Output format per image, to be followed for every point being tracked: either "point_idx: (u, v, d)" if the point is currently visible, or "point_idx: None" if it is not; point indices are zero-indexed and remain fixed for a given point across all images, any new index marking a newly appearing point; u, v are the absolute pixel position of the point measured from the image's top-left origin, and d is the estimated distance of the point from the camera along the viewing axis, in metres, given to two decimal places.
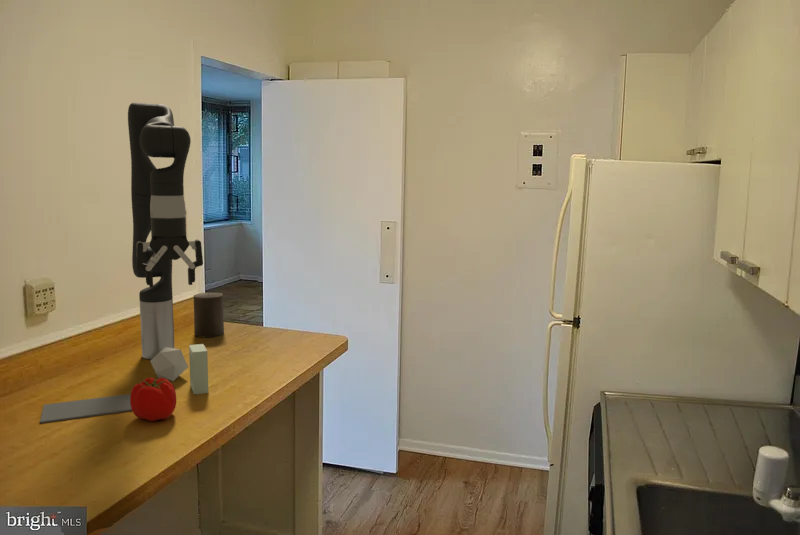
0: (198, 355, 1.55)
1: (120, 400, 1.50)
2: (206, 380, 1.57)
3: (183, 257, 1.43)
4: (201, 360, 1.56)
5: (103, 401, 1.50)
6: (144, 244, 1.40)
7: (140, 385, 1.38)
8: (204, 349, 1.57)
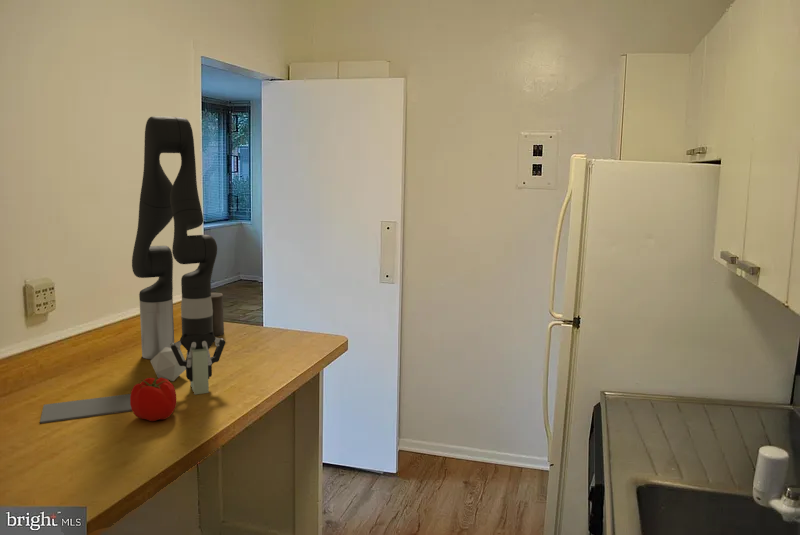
0: (198, 355, 1.55)
1: (120, 400, 1.50)
2: (206, 380, 1.57)
3: None
4: (201, 360, 1.56)
5: (103, 401, 1.50)
6: (176, 344, 1.56)
7: (140, 385, 1.38)
8: (204, 349, 1.57)
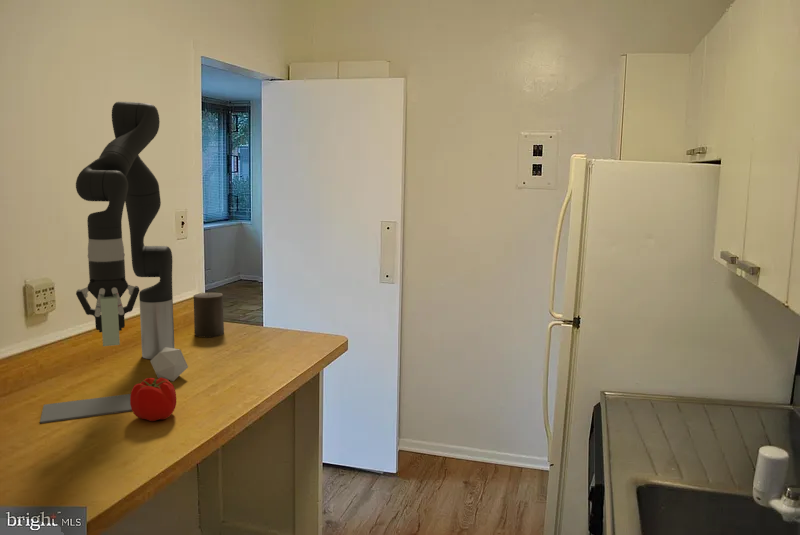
0: (107, 302, 1.41)
1: (120, 400, 1.50)
2: (117, 330, 1.43)
3: None
4: (110, 308, 1.42)
5: (103, 401, 1.50)
6: (83, 291, 1.42)
7: (140, 385, 1.38)
8: None
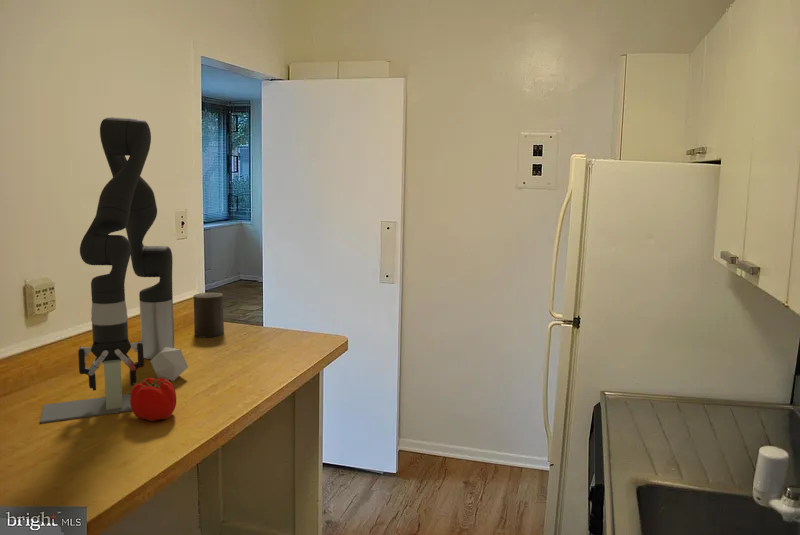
0: (110, 367, 1.44)
1: None
2: (120, 394, 1.45)
3: (124, 360, 1.46)
4: (114, 372, 1.44)
5: (103, 401, 1.50)
6: (85, 349, 1.44)
7: (140, 385, 1.38)
8: (118, 360, 1.46)
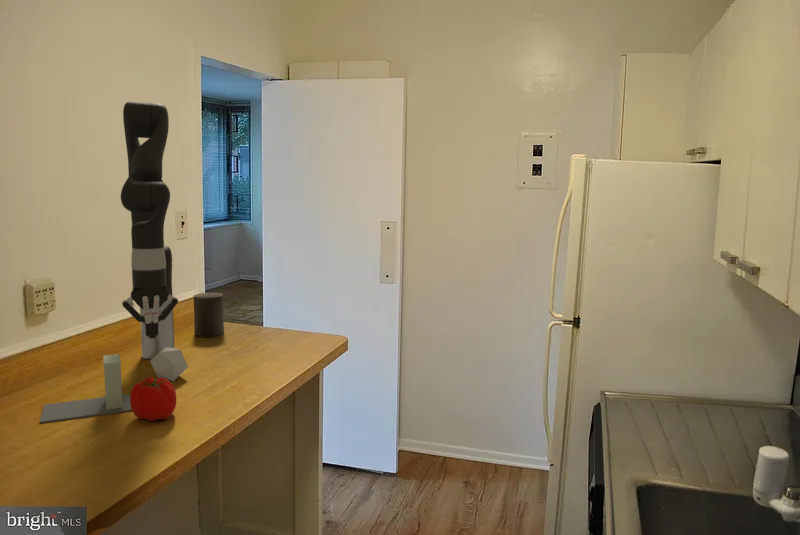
0: (110, 367, 1.44)
1: None
2: (120, 394, 1.45)
3: (155, 308, 1.48)
4: (114, 372, 1.44)
5: (103, 401, 1.50)
6: (128, 301, 1.46)
7: (140, 385, 1.38)
8: (118, 360, 1.46)
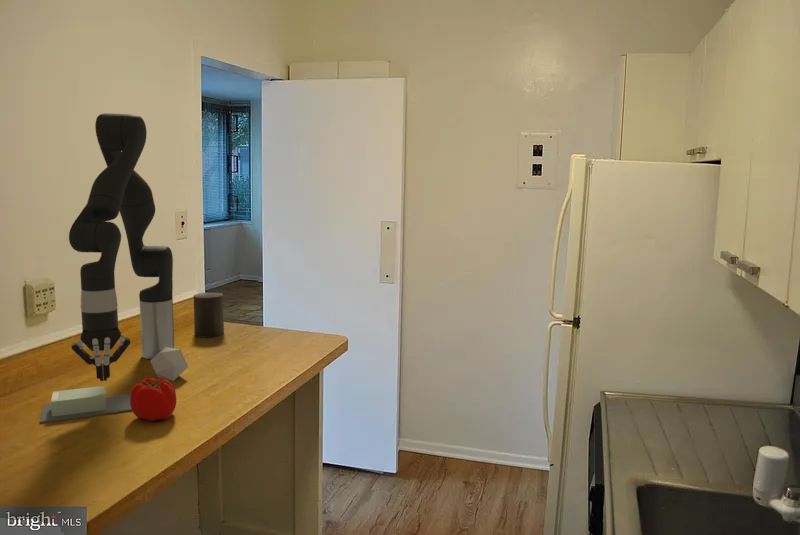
0: (56, 410, 1.40)
1: (120, 400, 1.50)
2: (89, 398, 1.43)
3: (106, 351, 1.44)
4: (63, 406, 1.40)
5: None
6: (77, 343, 1.43)
7: (140, 385, 1.38)
8: (51, 401, 1.41)
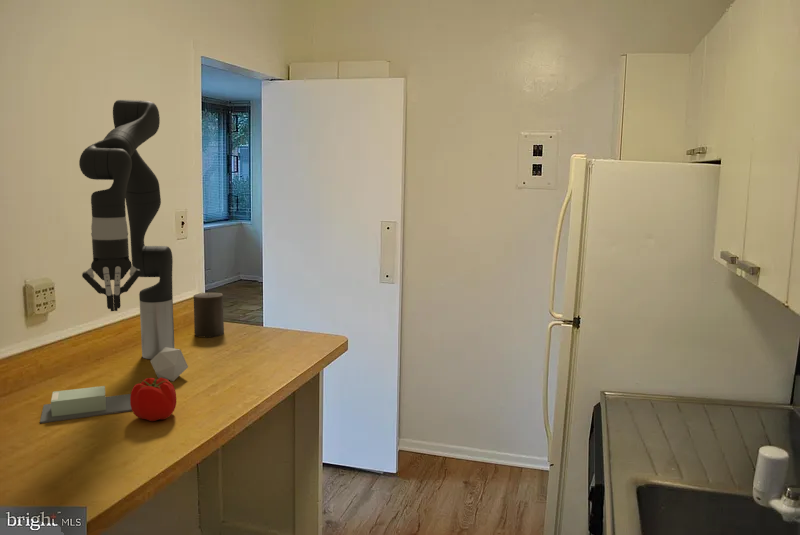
0: (56, 410, 1.40)
1: (120, 400, 1.50)
2: (89, 398, 1.43)
3: (116, 280, 1.43)
4: (63, 406, 1.40)
5: None
6: (88, 272, 1.41)
7: (140, 385, 1.38)
8: (51, 401, 1.41)
